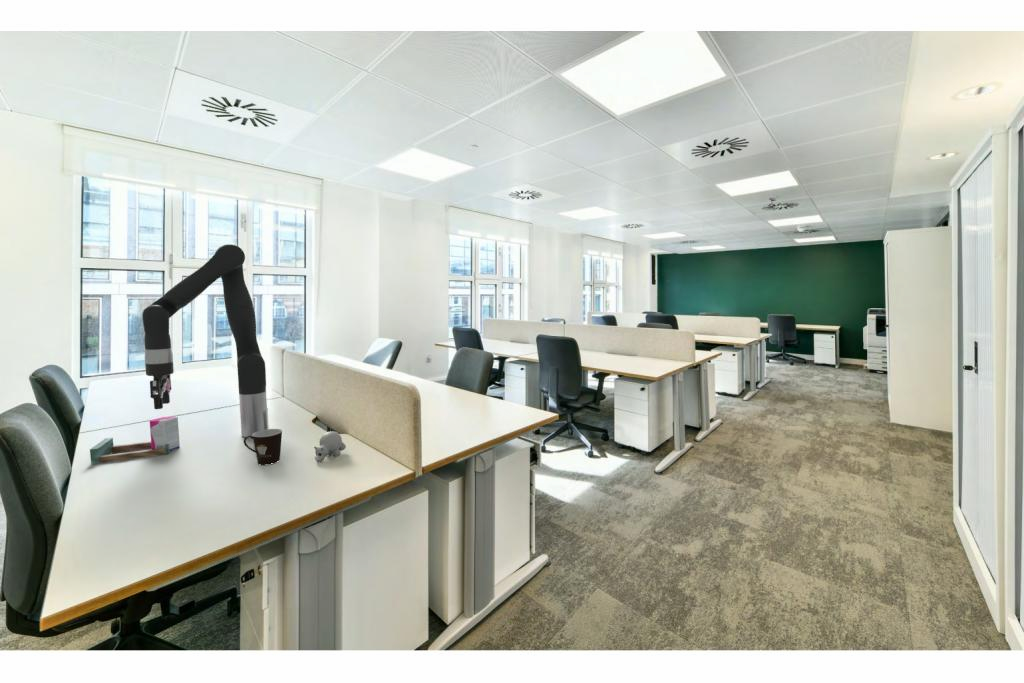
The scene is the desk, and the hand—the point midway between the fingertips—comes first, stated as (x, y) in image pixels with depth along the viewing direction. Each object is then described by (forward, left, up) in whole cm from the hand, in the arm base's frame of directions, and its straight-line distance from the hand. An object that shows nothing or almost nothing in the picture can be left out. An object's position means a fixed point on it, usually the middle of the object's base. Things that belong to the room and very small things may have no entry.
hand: (162, 406), depth 146 cm
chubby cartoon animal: (-52, +34, -16) cm, 64 cm away
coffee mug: (-33, +28, -16) cm, 46 cm away
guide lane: (+8, 0, -16) cm, 18 cm away
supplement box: (0, 0, -16) cm, 16 cm away
